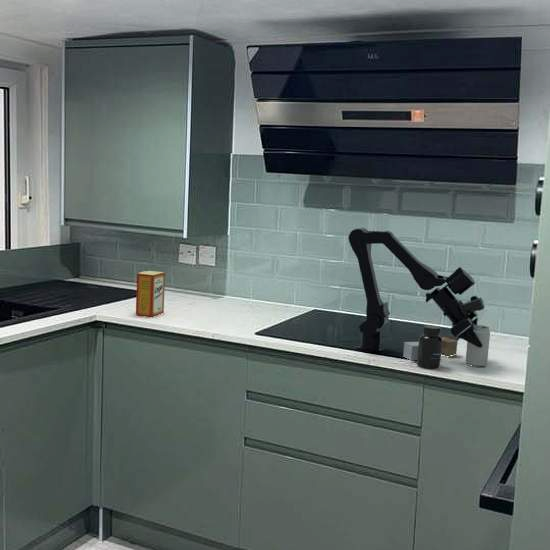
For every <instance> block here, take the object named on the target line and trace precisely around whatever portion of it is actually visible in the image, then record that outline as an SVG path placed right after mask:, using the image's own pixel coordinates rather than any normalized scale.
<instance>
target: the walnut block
mask: <svg viewBox="0 0 550 550" xmlns="http://www.w3.org/2000/svg"><path fill="white" fill-rule="evenodd" d="M441 338H442V350H441V354H442V355H445V356H450V355H454V354H456V355H457V351H458V340H457V339H452V338H450V337H445V336H444V337H441Z"/></svg>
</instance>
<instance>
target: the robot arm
mask: <svg viewBox="0 0 550 550" xmlns="http://www.w3.org/2000/svg"><path fill="white" fill-rule="evenodd" d="M347 238H348V242H349V244H350V247H351V249H352V251H353V253H354V255H355V257H356V258H357V259H356V260H357V263H358V265H359V266H358V267H359V273H360V275H361V281H362V284H363V289H364V293H365V298H366V309H365V311H366V312H365V315H366V320H365V321H363V322H362V323H361V324H360V325H359V326H358V328H359V331H360V339H359V342H360V343H359V345H356V346H355V348H356V349H358V348H359V349H358V350H360V349H361V351H362V350H364V351H363V352H365V351H366V353H373V352H372V351H378V352H384V349H382V348H380V347H381V332H380V330H382V328H383V326H385V325H386V324H387V323H388V321H389V319H390V318H389V317H390V315H391V312H390V310H389V304H388V301H385V302H383V300H382V299H381V295H380V291H379V286H378V282H377V278H376V277H377V276H376V273H375V269H374V264H373V260H372V245H375V244H376V245H377V244H380V245H381V244H383V245H384V246H385V248H387V249H388V250H389V251H390V253H392V254H393V256H395V258H396V259H398V261H400V262H401V264H403V266H404V267H405V268H406V269H407V270H408V271H409V273H410V274H411V276H412V278H413V280H414V282H416V284H417V285H418V288H420V289H421V290H424V291H430V290H432V291H431V292H426V293H425V302H426V303H428V302H429V301H431V300H432V301H433V302H434V303H435V304H436V305H437V307H438V308H439V309H440V310H441V312H443V313H442V315H443V316H444V317H447V318H448V319H449V321H450V322H451V328H450V333H451V334H452V335H453V336H454V338H455V337H457V338H460V339H461V340H463V341H465V342H469V343H471V344H473V345H475V346H477V347H479V348H481V347H482V346H483V345H482V343H481V342H480V340H479V338H478V337H477V335H476V333H475V332H474V325H478V320H479V316H478V315H479V314H478V313H477V311H478V312H479V311H483V310H484V309H485V304H484V300H483V299H482V297H478V296H477V295H472V296H471V297H470V299H469V301H466V302H463V301H462V300H461V299H460V300H458V299H457V297H456V296H455V295H460V296H462V295H463V294H464V293H465V292H466V291H468V290H469V289H470V288H471V287H473V286H474V285H475V284H476V281H475V279H474V278H473V277H472V276H471V275H470V274H469V273H468V272H467V271H466V270H464V269H463V268H462V266H459V267H458V268H457V269H455V270H454V272H453V273H451V274H450V275H449V276H445V275H440V274H438V272H437V271H435V270H434V269H432V268H431V267H429V266H428V265H426V264H425V263H423V262H422V261H420V260H418V258H417V257H416V256H415V255H414V254H413V253H412V252H411V251H410V250H409V249H408V248H407V247H406V246H405V245H403V243H402V242H401V241H400V240H399V239H397V237H396V236H395V235H394V233H393V232H391V231H390V230H384V231H380V230H377V231H376V230H368V229H367V228H365V227H360V228H355V229H353V230H352V231H350V232H349V234H348V237H347ZM444 284H445V285H444ZM443 285H444V286H443ZM441 286H443V287H441ZM440 287H441V288H440ZM434 288H435V289H434ZM433 289H434V290H433Z"/></svg>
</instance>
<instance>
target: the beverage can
mask: <svg viewBox="0 0 550 550" xmlns="http://www.w3.org/2000/svg"><path fill="white" fill-rule="evenodd" d="M474 332H475V333H476V335H477V337H478V338H479V340H480V342H481V343H482V345H483V346H482V347H481V348H479V347H477V346H475V345H473V344H471V343H469V342H467V341H466V342H467V343H466V350H465V351H466V353H465V363H466V364H467V363H468V364H469V365H468V364H467V365H468V366H470V365H472V366H471V367H474V366H484V367H485V366H486V365H488V359H489V350H490V349H489V348H490V338H491V331H490V327H489V326H486V325H480V324H477V325H474Z"/></svg>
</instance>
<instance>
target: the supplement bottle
mask: <svg viewBox="0 0 550 550" xmlns="http://www.w3.org/2000/svg"><path fill="white" fill-rule="evenodd" d="M422 332H423V334H421V335H420V336H419V338H418V342H419V345H418V355H417V362H416V365H417V366H418V367H419V368H423V369H426V370H429V369H430V370H436V368H437V369H439V368H440V366H441V358H442V356H441V350H442V338H443V337H442V336H440V334H441V328H440V327H439V326H436V325H424V326H423V329H422Z"/></svg>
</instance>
